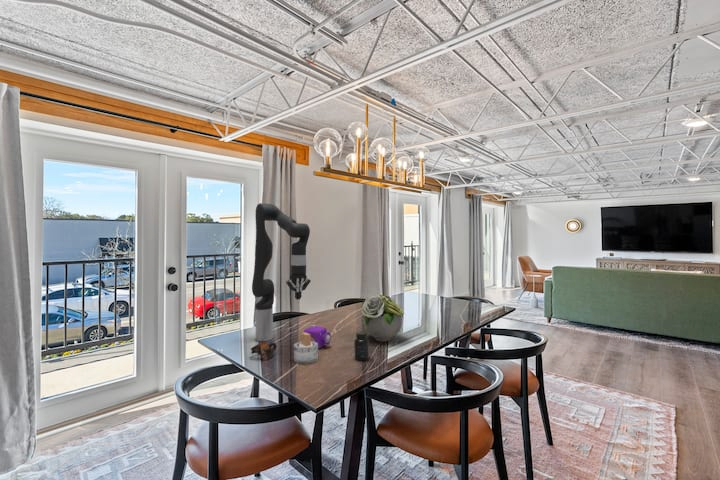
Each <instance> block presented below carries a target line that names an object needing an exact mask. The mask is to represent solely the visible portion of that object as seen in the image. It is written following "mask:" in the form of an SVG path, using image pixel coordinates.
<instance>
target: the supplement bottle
mask: <svg viewBox="0 0 720 480" xmlns="http://www.w3.org/2000/svg"><path fill="white" fill-rule="evenodd" d="M355 334H356V336H355V337H356V338H354V341H353V344H354V345H353V346H354V351H353V352H354V359H355V360H356V361H359V362H365V361H368V360H369V359H370V340H369V339H368V336H367V335H368V332H367V331H357V332H356V333H355Z"/></svg>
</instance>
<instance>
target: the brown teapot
mask: <svg viewBox="0 0 720 480" xmlns="http://www.w3.org/2000/svg"><path fill="white" fill-rule="evenodd" d="M272 346H273V347H272ZM277 347H278V346H277V343H276V342H270V343H267V341H261V342H259V343H258V344H256V345H253V346H252V347H251V348H250V350H251V352H250V353H251V355H253V354H257V355H258V356H259V355H261V354H262V351H263V352H264V353H265V354H264V355H262V360H263V361H266V360H269V359H271V358H273V354H274V352H276V350H277Z"/></svg>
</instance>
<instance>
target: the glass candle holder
mask: <svg viewBox="0 0 720 480" xmlns="http://www.w3.org/2000/svg"><path fill="white" fill-rule="evenodd" d="M300 343H301V341H297V342H296V343H293V361H294V363H296V364H299V365H309V364H313V363H317V361H318V360H319V349H318V343H317V342H314V341H311V343H312V344H313V346H311V347H299V344H300Z"/></svg>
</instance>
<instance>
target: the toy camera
mask: <svg viewBox="0 0 720 480" xmlns="http://www.w3.org/2000/svg"><path fill="white" fill-rule="evenodd" d="M304 332H306V333H309V334H311V341H314V342H317V343H318V350H319V349H321V348H322V347H324V346H329V344H330V343H331V341H332V336H331V332H327V328H326V327H324V326H316V325H314V324H312V325H311V326H310V327H309V326H308V328H305V329H304V331H303V333H304Z"/></svg>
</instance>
